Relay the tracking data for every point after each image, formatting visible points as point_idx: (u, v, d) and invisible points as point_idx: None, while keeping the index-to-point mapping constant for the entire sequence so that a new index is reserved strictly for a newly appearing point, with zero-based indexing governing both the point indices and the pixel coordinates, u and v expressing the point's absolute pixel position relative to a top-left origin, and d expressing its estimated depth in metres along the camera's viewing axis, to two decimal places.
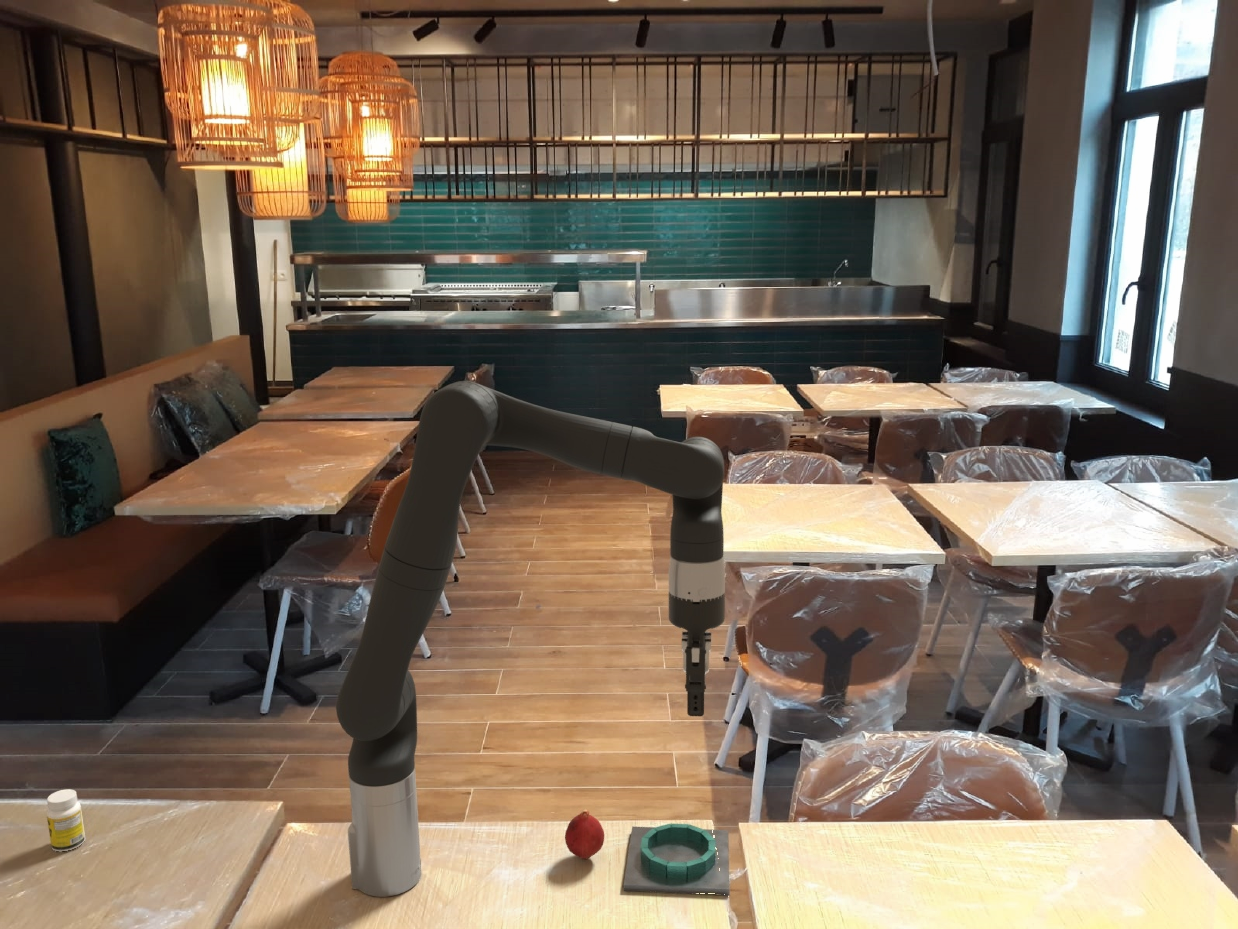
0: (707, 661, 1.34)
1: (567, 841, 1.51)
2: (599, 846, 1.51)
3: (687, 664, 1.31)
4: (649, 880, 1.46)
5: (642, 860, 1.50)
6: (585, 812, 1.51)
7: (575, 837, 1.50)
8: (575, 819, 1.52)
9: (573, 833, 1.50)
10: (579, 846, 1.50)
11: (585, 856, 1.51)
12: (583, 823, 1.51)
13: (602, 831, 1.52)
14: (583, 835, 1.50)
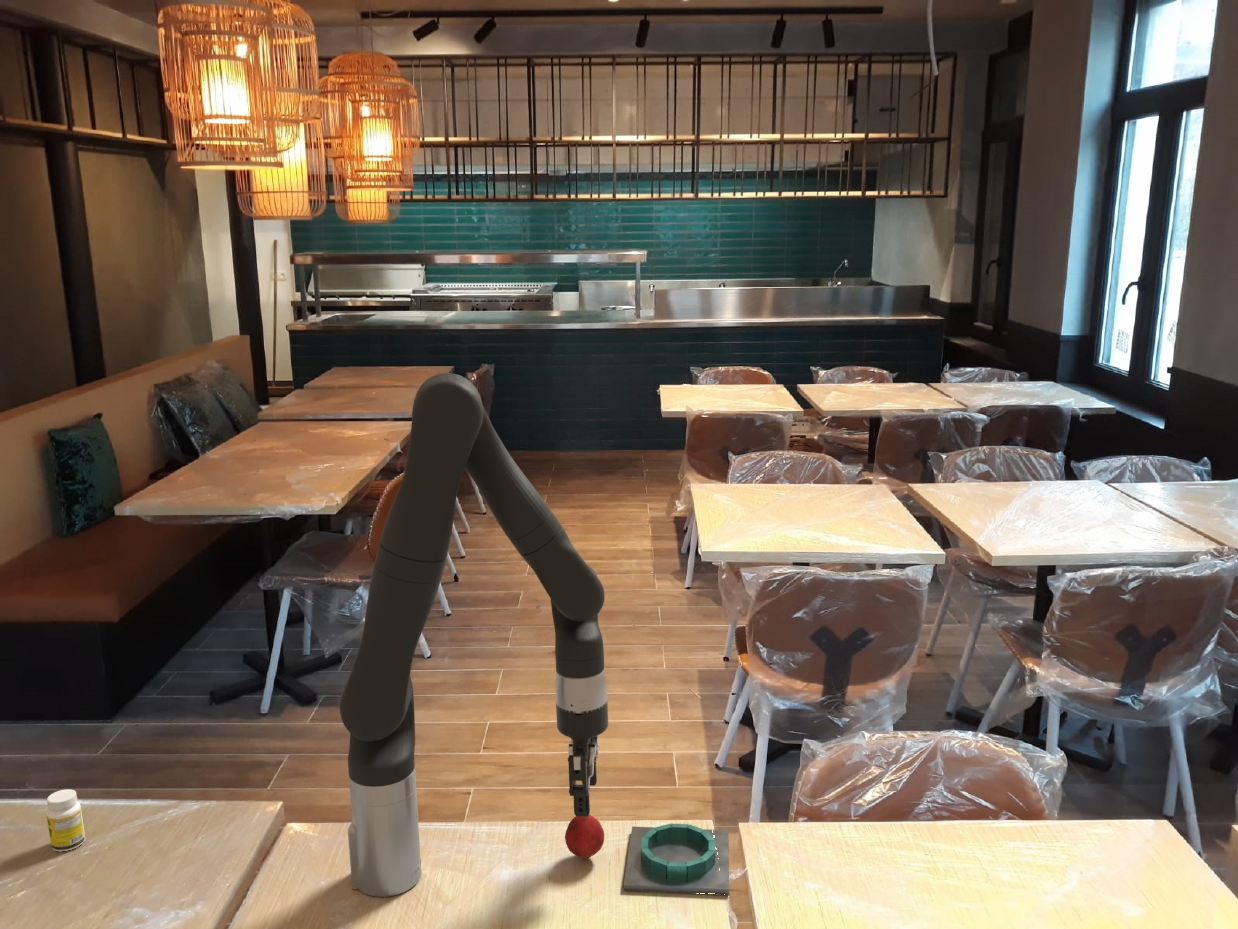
0: (591, 766, 1.46)
1: (567, 841, 1.51)
2: (599, 846, 1.51)
3: (570, 771, 1.43)
4: (649, 880, 1.46)
5: (642, 860, 1.50)
6: None
7: (575, 837, 1.50)
8: (575, 819, 1.52)
9: (573, 833, 1.50)
10: (579, 846, 1.50)
11: (585, 856, 1.51)
12: (583, 823, 1.51)
13: (602, 831, 1.52)
14: (583, 835, 1.50)
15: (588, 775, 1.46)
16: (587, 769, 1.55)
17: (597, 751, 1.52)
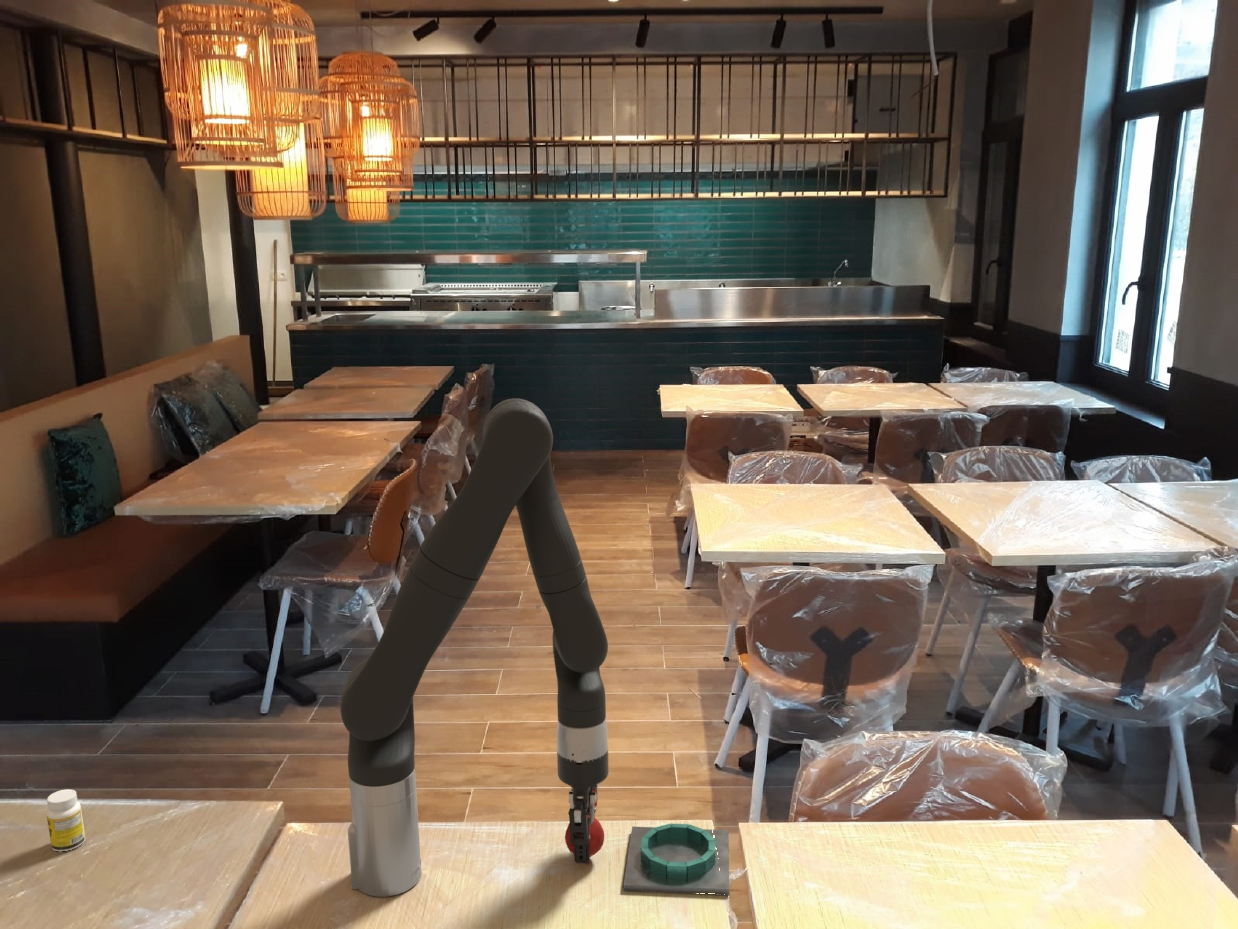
0: (591, 815, 1.49)
1: (567, 841, 1.51)
2: (599, 846, 1.51)
3: (570, 824, 1.45)
4: (649, 880, 1.46)
5: (642, 860, 1.50)
6: None
7: None
8: None
9: None
10: None
11: None
12: None
13: (602, 831, 1.52)
14: None
15: (588, 824, 1.48)
16: None
17: (596, 801, 1.53)
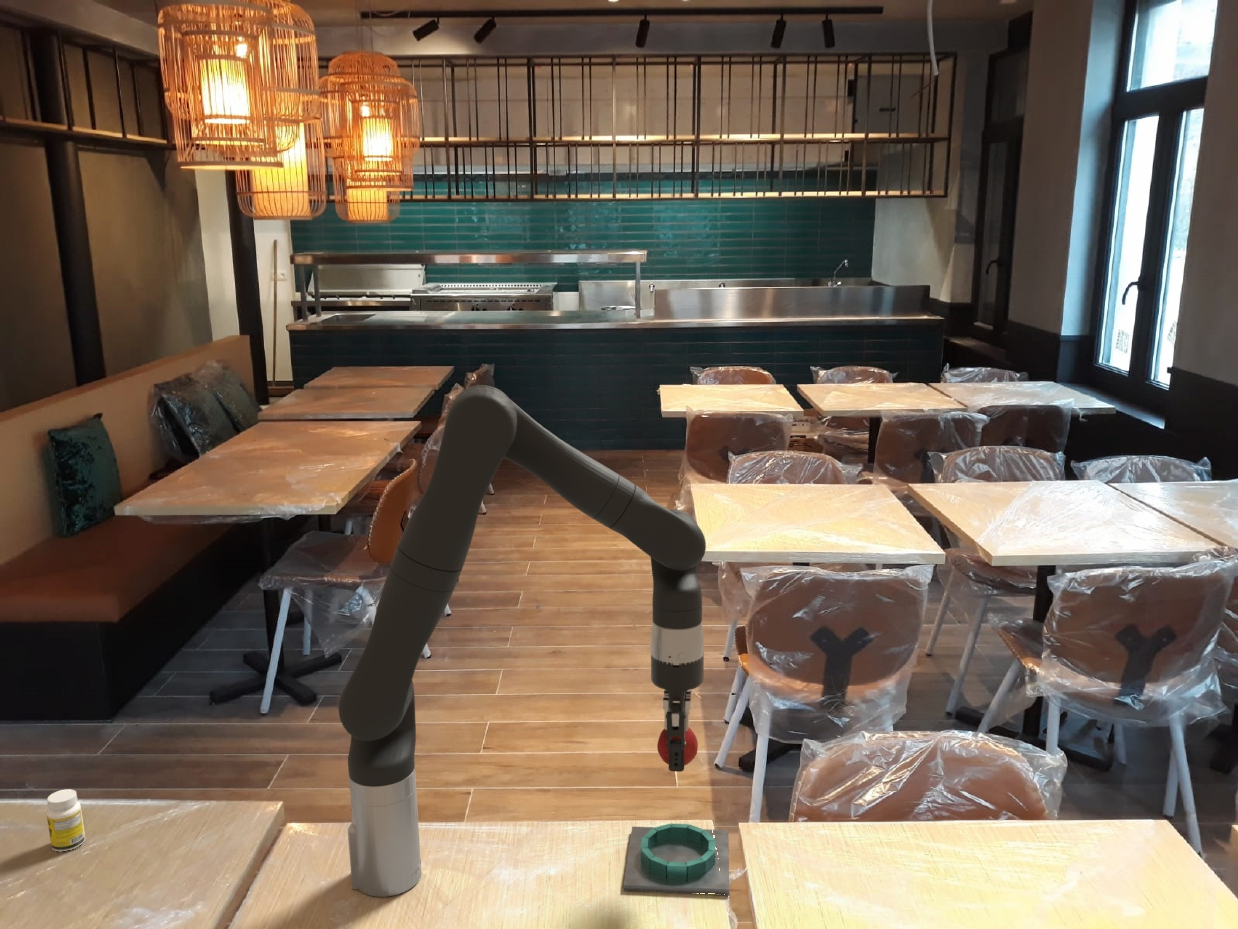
0: (687, 721, 1.44)
1: (660, 749, 1.47)
2: (693, 754, 1.46)
3: (668, 728, 1.41)
4: (649, 880, 1.46)
5: (642, 860, 1.50)
6: None
7: None
8: None
9: None
10: None
11: None
12: None
13: (696, 740, 1.48)
14: None
15: (684, 730, 1.44)
16: None
17: (689, 709, 1.49)
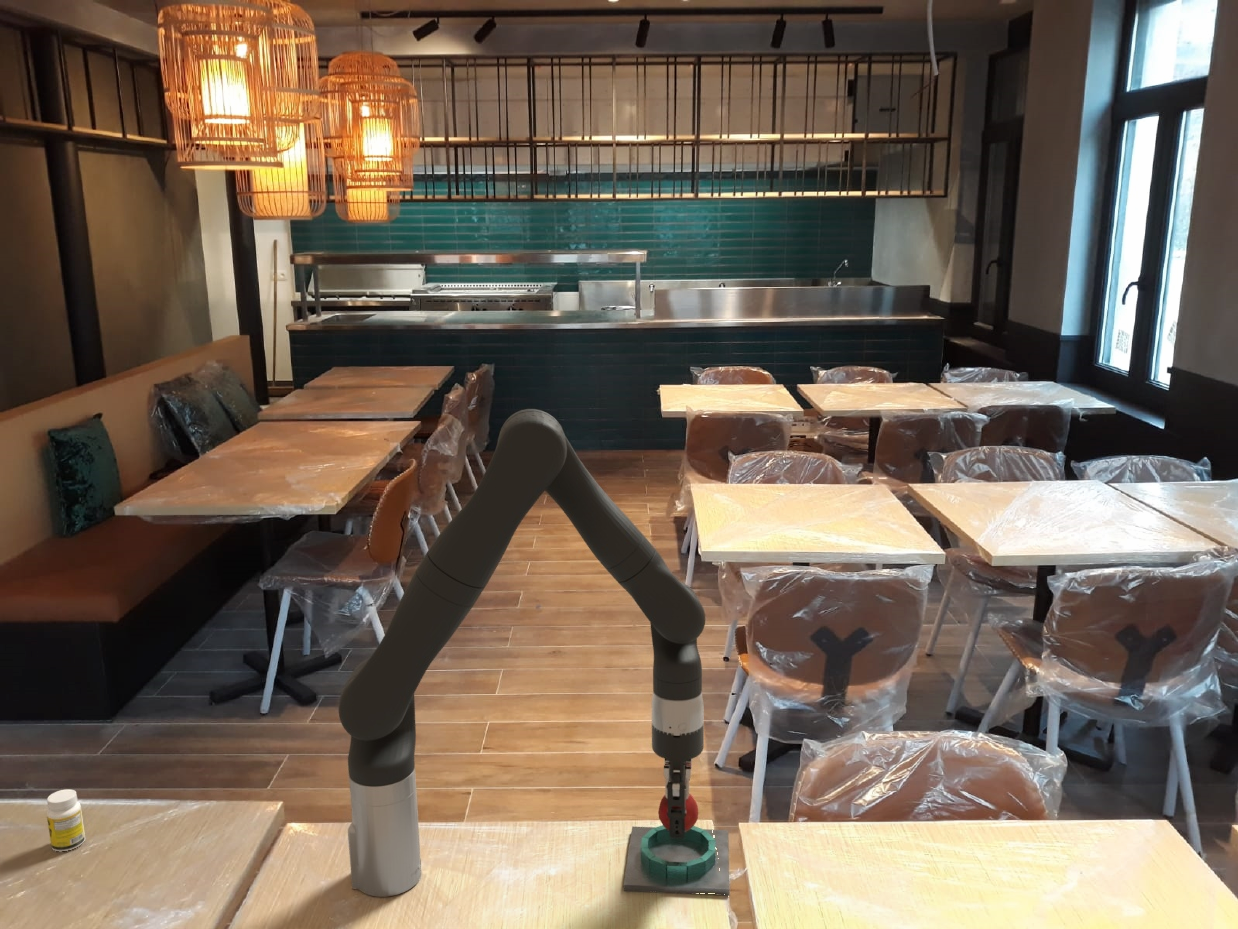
0: (687, 789, 1.46)
1: (661, 816, 1.49)
2: (694, 821, 1.49)
3: (668, 798, 1.43)
4: (649, 880, 1.46)
5: (642, 860, 1.50)
6: None
7: None
8: None
9: None
10: None
11: None
12: None
13: (696, 806, 1.50)
14: None
15: (684, 799, 1.46)
16: None
17: None
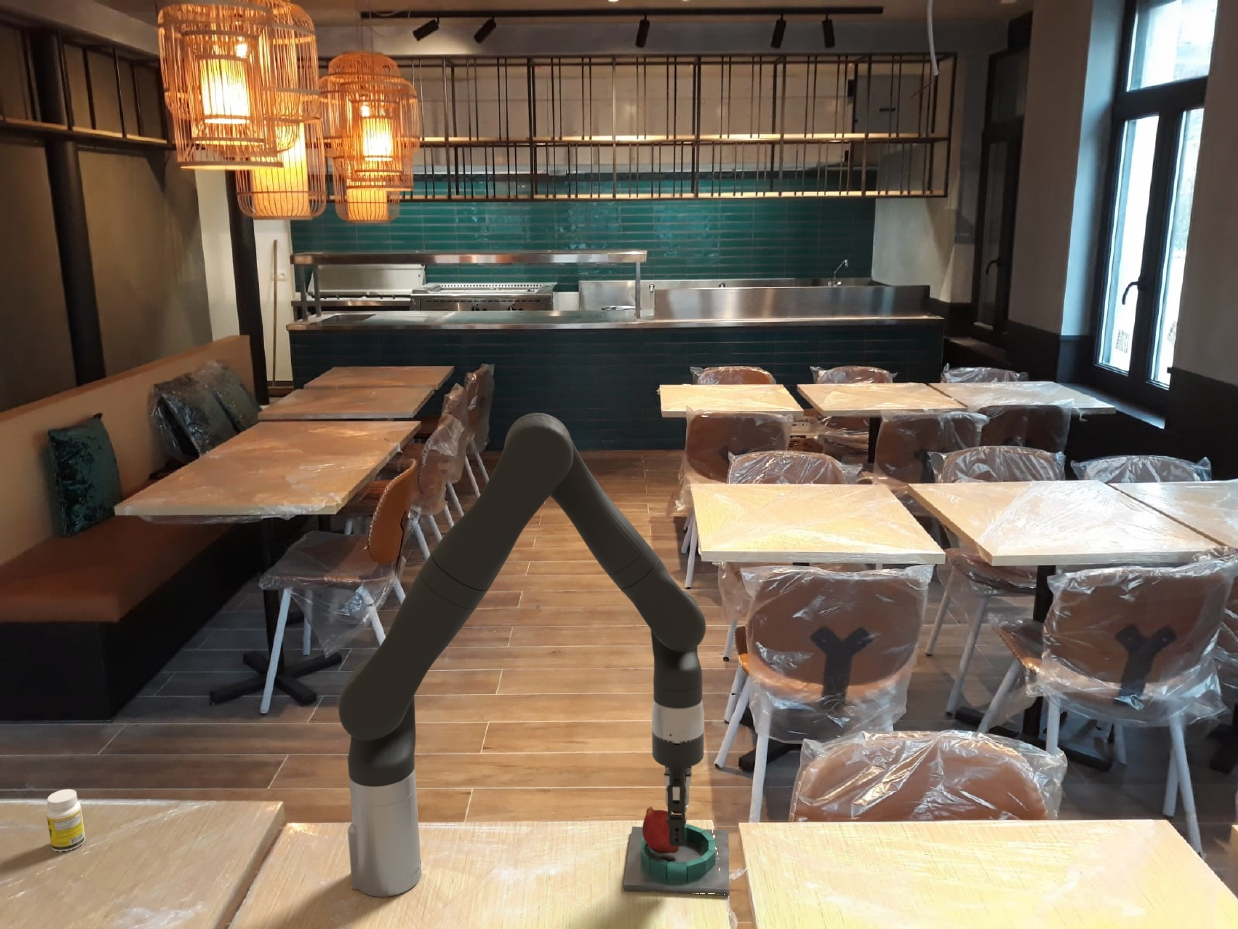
0: (687, 796, 1.46)
1: (647, 844, 1.50)
2: None
3: (668, 802, 1.43)
4: (649, 880, 1.46)
5: (642, 860, 1.50)
6: (648, 809, 1.51)
7: (650, 836, 1.49)
8: (644, 820, 1.51)
9: (647, 834, 1.50)
10: (658, 842, 1.49)
11: (670, 848, 1.50)
12: (651, 820, 1.50)
13: None
14: (655, 830, 1.49)
15: (685, 805, 1.45)
16: None
17: None
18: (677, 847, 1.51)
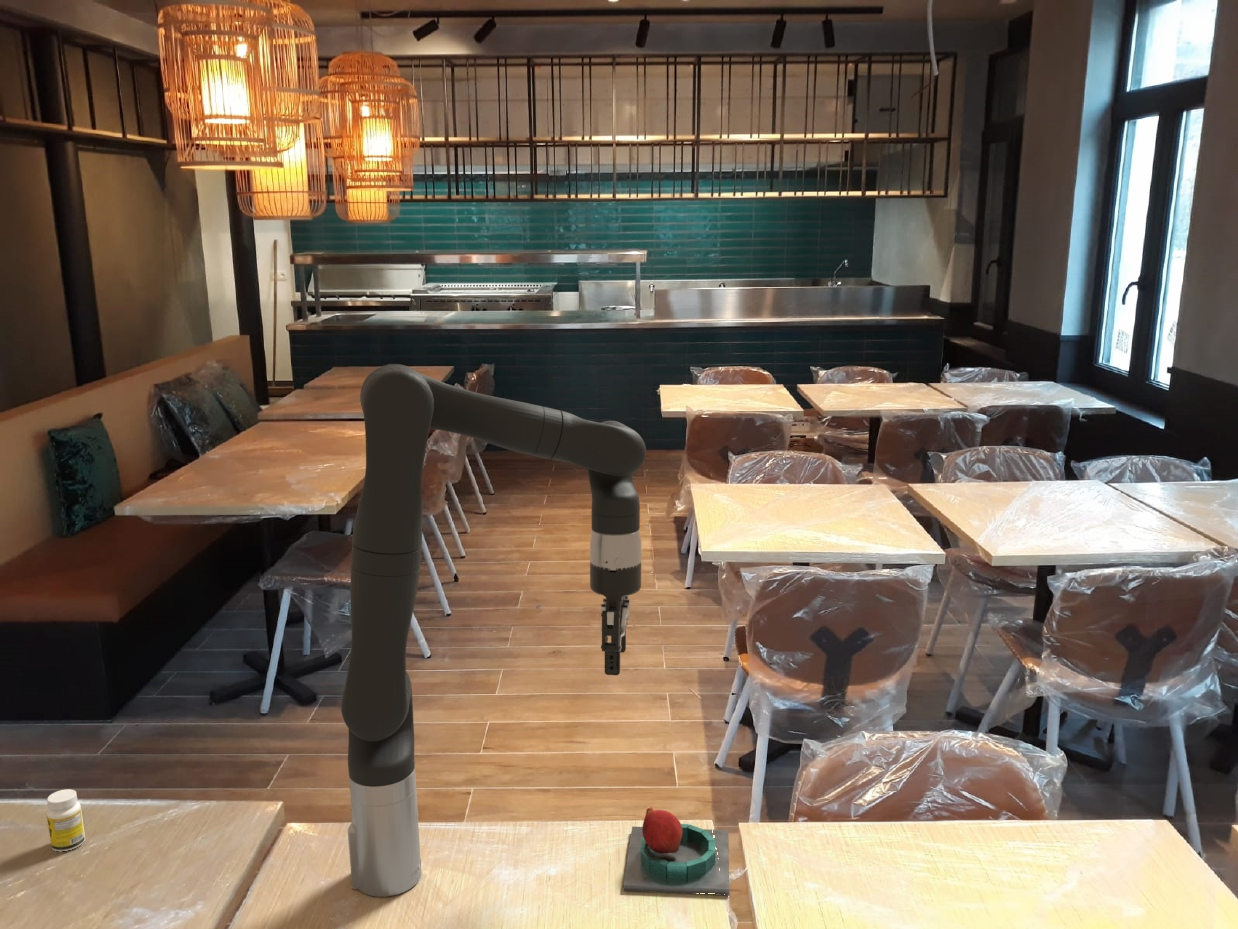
0: (623, 625, 1.47)
1: (647, 844, 1.50)
2: (677, 832, 1.50)
3: (603, 626, 1.44)
4: (649, 880, 1.46)
5: (642, 860, 1.50)
6: (648, 809, 1.51)
7: (650, 836, 1.49)
8: (644, 820, 1.51)
9: (647, 834, 1.50)
10: (658, 842, 1.49)
11: (670, 848, 1.50)
12: (651, 820, 1.50)
13: (674, 818, 1.51)
14: (655, 830, 1.49)
15: (620, 633, 1.47)
16: None
17: (628, 616, 1.53)
18: (677, 847, 1.51)
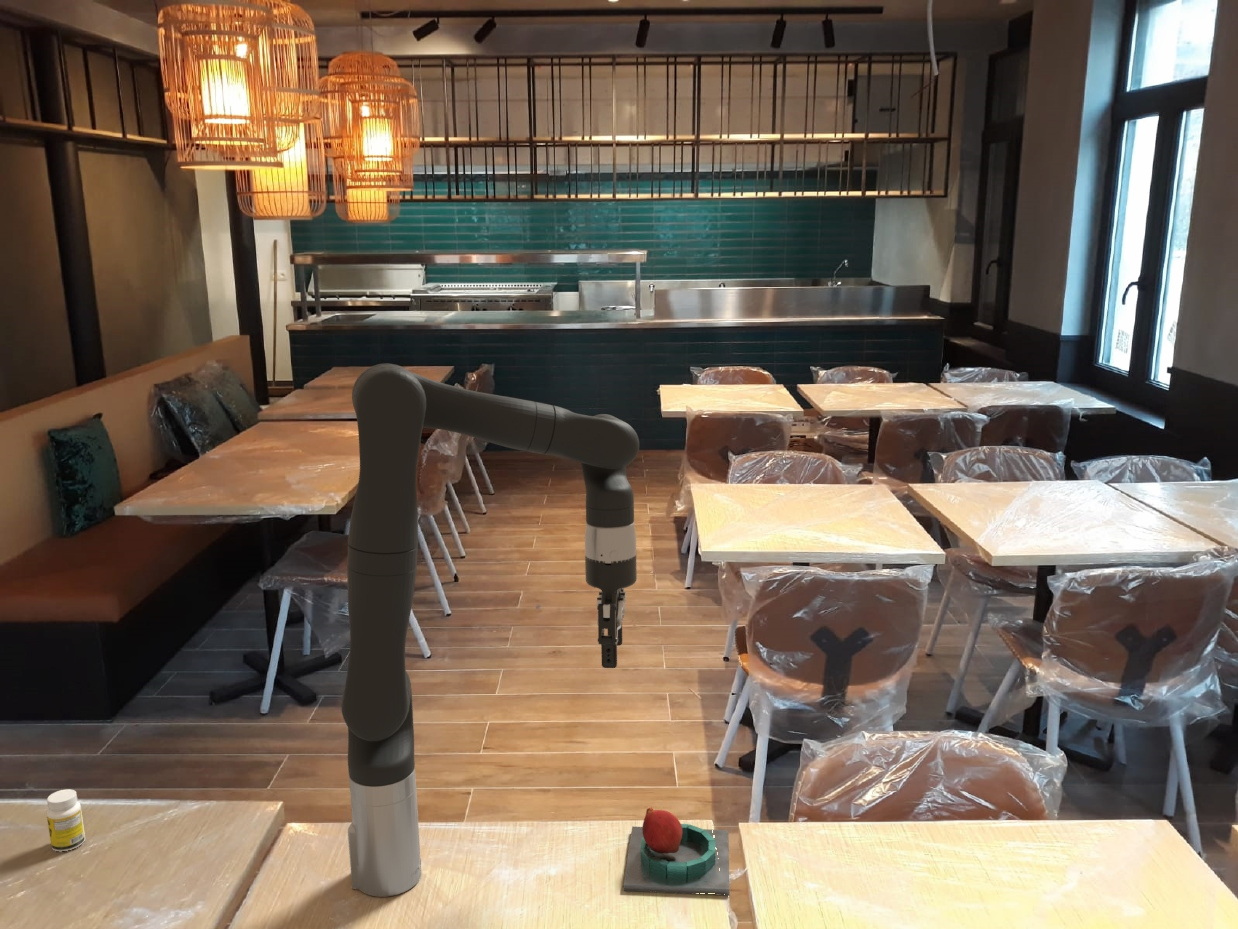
0: (619, 617, 1.48)
1: (647, 844, 1.50)
2: (677, 832, 1.50)
3: (599, 619, 1.44)
4: (649, 880, 1.46)
5: (642, 860, 1.50)
6: (648, 809, 1.51)
7: (650, 836, 1.49)
8: (644, 820, 1.51)
9: (647, 834, 1.50)
10: (658, 842, 1.49)
11: (670, 848, 1.50)
12: (651, 820, 1.50)
13: (674, 818, 1.51)
14: (655, 830, 1.49)
15: (616, 626, 1.47)
16: None
17: (624, 608, 1.53)
18: (677, 847, 1.51)
